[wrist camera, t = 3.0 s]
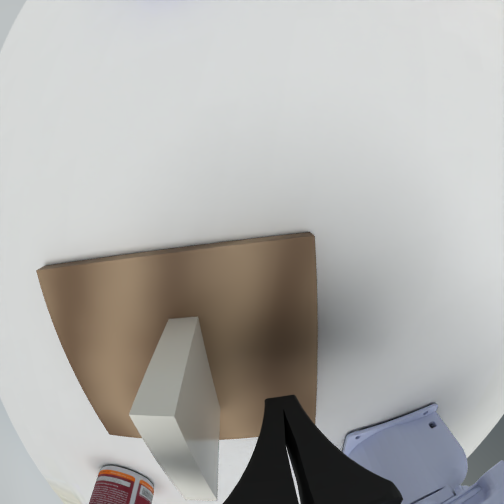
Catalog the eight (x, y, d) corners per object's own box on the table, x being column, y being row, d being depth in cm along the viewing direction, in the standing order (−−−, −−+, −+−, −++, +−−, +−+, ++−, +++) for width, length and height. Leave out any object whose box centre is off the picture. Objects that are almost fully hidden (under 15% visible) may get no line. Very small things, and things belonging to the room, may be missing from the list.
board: (309, 232, 14) (314, 235, 13) (311, 418, 18) (314, 428, 17) (45, 265, 14) (36, 270, 13) (112, 426, 18) (109, 434, 17)
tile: (198, 316, 14) (174, 416, 7) (220, 409, 16) (217, 500, 9) (166, 319, 14) (124, 414, 7) (194, 410, 16) (182, 499, 9)
